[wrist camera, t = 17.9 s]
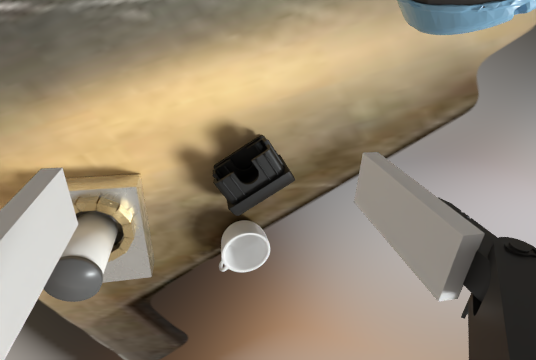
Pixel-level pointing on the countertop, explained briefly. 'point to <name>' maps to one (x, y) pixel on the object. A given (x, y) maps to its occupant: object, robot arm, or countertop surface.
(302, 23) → the countertop surface
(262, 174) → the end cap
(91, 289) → the telephoto lens
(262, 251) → the teacup
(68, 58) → the countertop surface
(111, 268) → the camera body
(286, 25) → the countertop surface
